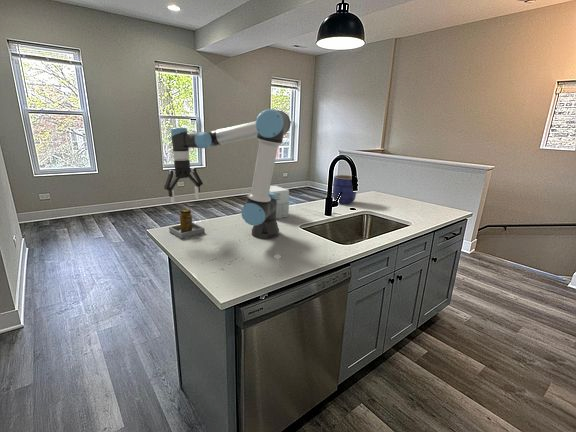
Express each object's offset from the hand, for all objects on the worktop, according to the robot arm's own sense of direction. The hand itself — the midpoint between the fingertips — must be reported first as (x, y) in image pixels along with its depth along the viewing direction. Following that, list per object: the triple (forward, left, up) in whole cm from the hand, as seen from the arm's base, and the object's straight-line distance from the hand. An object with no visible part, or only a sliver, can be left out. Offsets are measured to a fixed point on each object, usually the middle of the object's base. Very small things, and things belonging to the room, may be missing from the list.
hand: (185, 200), depth 156 cm
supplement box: (-6, -59, -18) cm, 62 cm away
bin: (0, 0, -18) cm, 18 cm away
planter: (-18, -124, -18) cm, 126 cm away
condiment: (0, 0, -18) cm, 18 cm away
